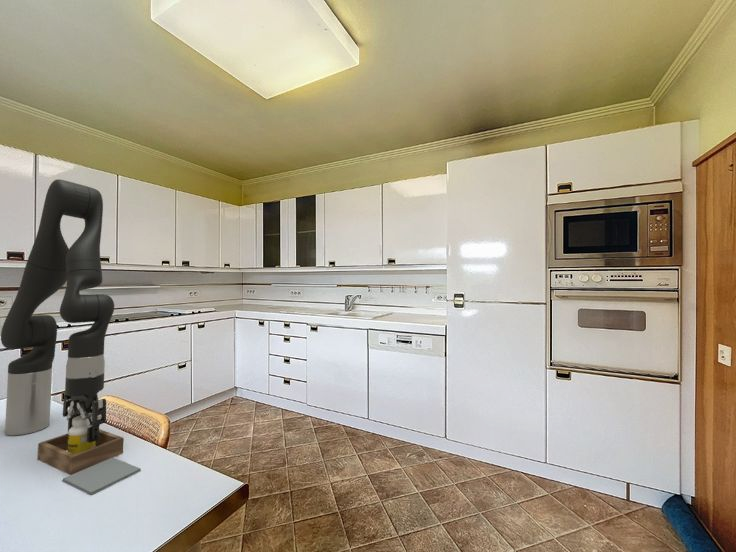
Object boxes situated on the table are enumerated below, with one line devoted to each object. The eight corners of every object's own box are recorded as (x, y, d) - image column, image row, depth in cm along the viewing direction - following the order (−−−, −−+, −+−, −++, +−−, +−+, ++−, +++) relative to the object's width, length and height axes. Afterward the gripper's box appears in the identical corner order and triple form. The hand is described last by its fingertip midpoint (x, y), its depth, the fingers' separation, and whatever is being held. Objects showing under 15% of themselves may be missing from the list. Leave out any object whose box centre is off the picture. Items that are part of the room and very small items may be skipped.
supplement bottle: (62, 458, 83) (64, 418, 83) (88, 449, 88) (90, 411, 88) (72, 464, 80) (74, 423, 81) (99, 454, 85) (101, 415, 85)
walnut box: (37, 459, 82) (38, 443, 82) (89, 440, 92) (90, 426, 92) (71, 475, 76) (71, 457, 76) (123, 453, 86) (123, 437, 86)
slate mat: (62, 481, 74) (62, 478, 74) (112, 459, 83) (112, 457, 83) (91, 495, 69) (91, 492, 69) (140, 471, 78) (140, 468, 78)
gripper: (51, 373, 84) (49, 438, 84) (84, 380, 78) (81, 450, 78) (86, 366, 91) (84, 426, 90) (118, 373, 85) (116, 437, 85)
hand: (83, 437), depth 84 cm, fingers open, 8 cm apart
